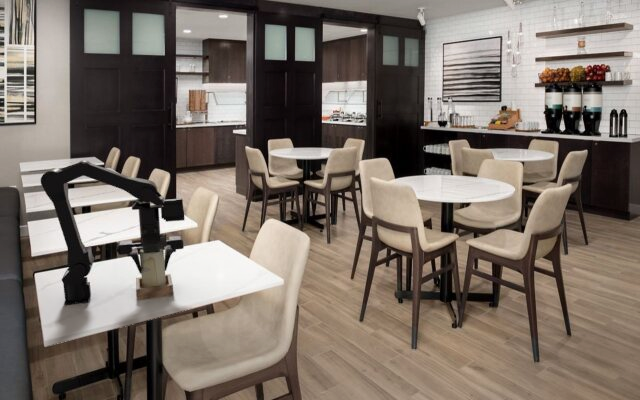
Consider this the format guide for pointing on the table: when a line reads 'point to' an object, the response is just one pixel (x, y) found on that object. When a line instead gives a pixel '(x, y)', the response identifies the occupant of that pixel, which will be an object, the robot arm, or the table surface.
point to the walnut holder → (154, 289)
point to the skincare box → (152, 268)
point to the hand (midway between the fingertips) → (152, 271)
